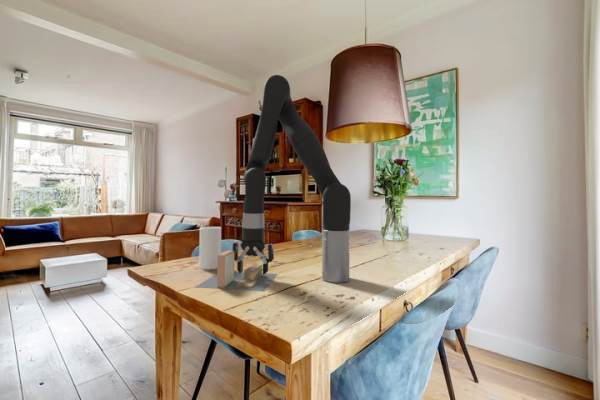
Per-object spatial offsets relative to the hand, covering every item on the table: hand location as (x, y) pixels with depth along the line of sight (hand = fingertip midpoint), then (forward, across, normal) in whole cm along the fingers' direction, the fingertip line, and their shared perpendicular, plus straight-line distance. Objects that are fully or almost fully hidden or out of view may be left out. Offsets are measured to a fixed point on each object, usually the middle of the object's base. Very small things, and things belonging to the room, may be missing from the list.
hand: (252, 273), depth 96 cm
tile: (+2, +6, +7) cm, 10 cm away
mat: (+2, +4, +3) cm, 5 cm away
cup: (+3, +22, -13) cm, 25 cm away
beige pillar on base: (+2, 0, +2) cm, 3 cm away
